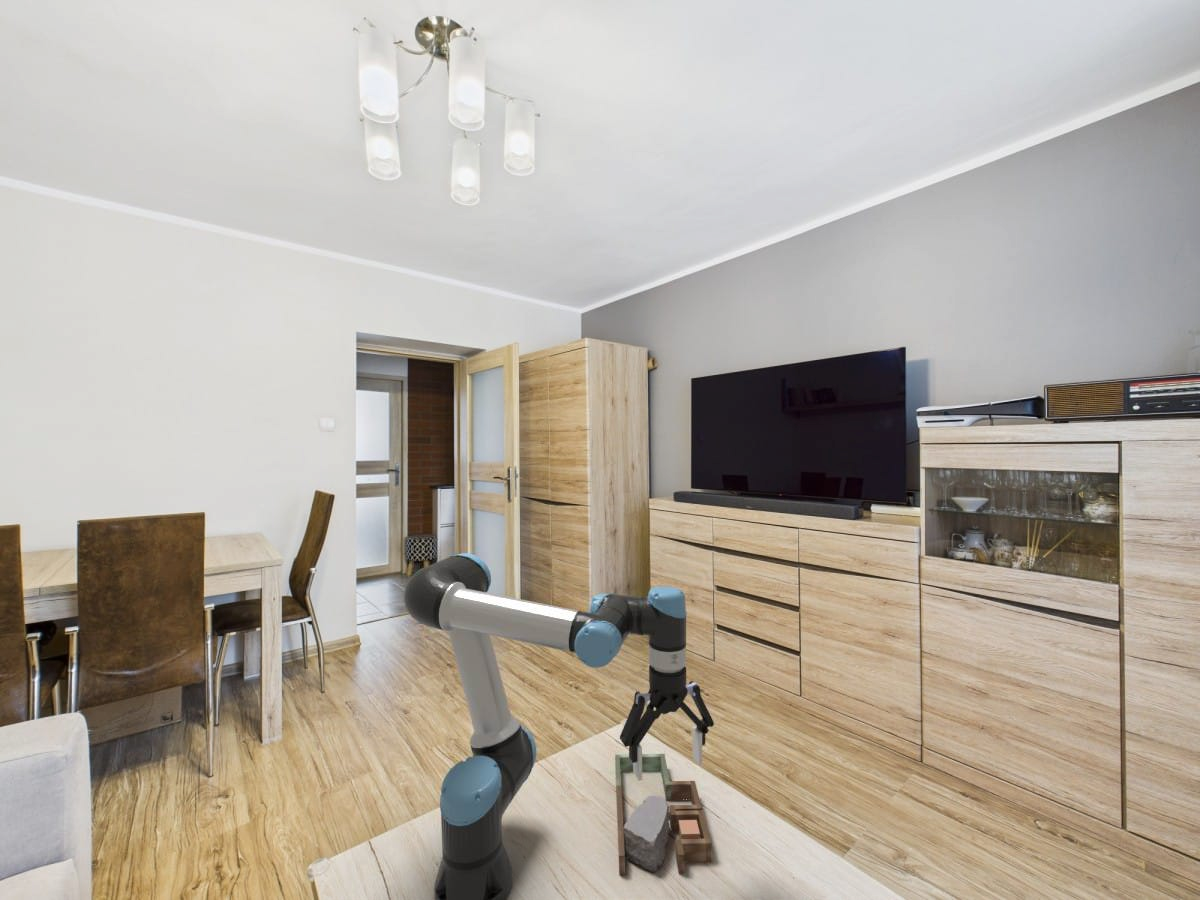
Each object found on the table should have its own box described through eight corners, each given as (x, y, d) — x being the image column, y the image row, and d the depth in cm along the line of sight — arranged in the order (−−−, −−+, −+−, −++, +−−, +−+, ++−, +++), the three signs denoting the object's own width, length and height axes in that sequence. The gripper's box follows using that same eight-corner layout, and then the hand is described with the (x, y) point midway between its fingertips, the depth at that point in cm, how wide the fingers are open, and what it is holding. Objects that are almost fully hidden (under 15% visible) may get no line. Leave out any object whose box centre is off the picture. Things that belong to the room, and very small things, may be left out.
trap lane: (619, 874, 104) (618, 855, 104) (615, 769, 137) (615, 754, 137) (714, 873, 103) (714, 854, 103) (687, 767, 137) (687, 753, 137)
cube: (681, 852, 109) (681, 834, 109) (679, 837, 113) (678, 820, 113) (700, 851, 109) (699, 833, 109) (696, 837, 113) (696, 819, 113)
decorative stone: (624, 875, 104) (672, 876, 103) (622, 841, 104) (670, 843, 103) (628, 822, 119) (670, 822, 118) (626, 792, 119) (668, 793, 117)
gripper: (617, 684, 95) (618, 795, 95) (730, 663, 103) (730, 765, 104) (603, 667, 102) (604, 770, 102) (710, 648, 110) (711, 744, 111)
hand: (668, 768), depth 103 cm, fingers open, 13 cm apart
